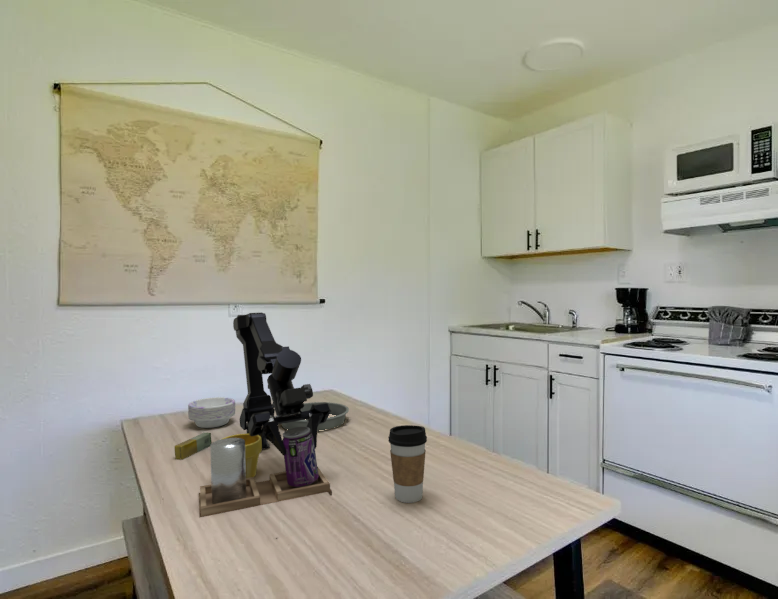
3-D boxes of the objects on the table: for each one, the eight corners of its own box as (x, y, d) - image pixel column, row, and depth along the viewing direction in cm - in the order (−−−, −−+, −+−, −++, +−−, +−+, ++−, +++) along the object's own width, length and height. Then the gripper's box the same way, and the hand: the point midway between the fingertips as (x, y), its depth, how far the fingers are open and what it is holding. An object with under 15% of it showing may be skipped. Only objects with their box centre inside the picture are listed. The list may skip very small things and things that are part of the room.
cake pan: (362, 418, 160) (362, 406, 160) (318, 438, 139) (317, 424, 139) (309, 410, 173) (309, 398, 173) (261, 427, 152) (260, 414, 152)
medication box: (204, 445, 135) (204, 432, 135) (212, 445, 135) (211, 432, 135) (174, 459, 124) (173, 445, 124) (182, 460, 123) (181, 446, 123)
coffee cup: (416, 509, 93) (415, 436, 92) (382, 499, 97) (380, 430, 97) (434, 493, 100) (433, 425, 100) (401, 485, 104) (400, 420, 104)
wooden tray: (198, 497, 100) (198, 486, 100) (318, 475, 111) (317, 465, 111) (199, 522, 89) (199, 509, 89) (331, 495, 100) (331, 484, 100)
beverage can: (303, 492, 99) (296, 439, 98) (281, 486, 103) (274, 435, 102) (325, 477, 105) (318, 427, 104) (303, 472, 109) (297, 424, 108)
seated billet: (211, 495, 99) (209, 440, 99) (244, 489, 102) (243, 436, 101) (212, 509, 92) (210, 450, 92) (248, 502, 95) (246, 445, 95)
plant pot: (209, 481, 109) (208, 441, 108) (247, 468, 116) (246, 430, 116) (232, 493, 102) (231, 450, 102) (271, 478, 110) (270, 438, 110)
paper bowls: (245, 421, 159) (244, 399, 158) (207, 433, 146) (206, 409, 146) (217, 416, 167) (216, 394, 167) (179, 427, 154) (178, 403, 154)
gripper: (250, 378, 101) (266, 441, 92) (327, 369, 111) (348, 425, 102) (242, 406, 108) (256, 466, 99) (315, 395, 118) (334, 449, 109)
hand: (300, 451), depth 102 cm, fingers closed on beverage can, 7 cm apart
